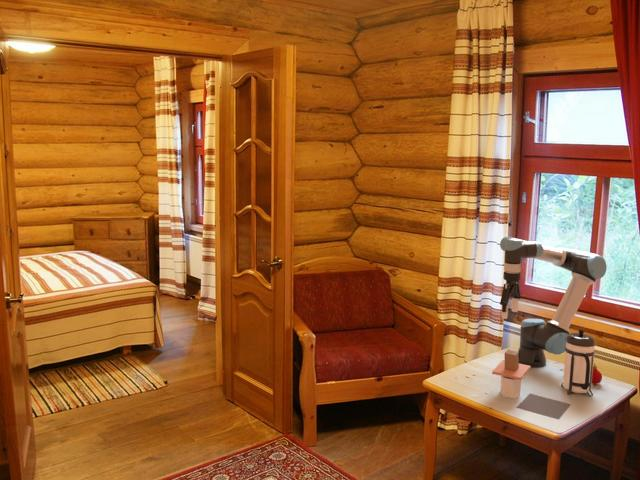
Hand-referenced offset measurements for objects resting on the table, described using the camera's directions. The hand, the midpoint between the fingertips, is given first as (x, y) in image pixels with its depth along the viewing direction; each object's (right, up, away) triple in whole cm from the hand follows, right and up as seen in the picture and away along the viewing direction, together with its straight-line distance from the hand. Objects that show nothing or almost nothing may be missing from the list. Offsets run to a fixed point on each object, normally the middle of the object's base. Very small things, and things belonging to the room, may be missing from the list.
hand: (509, 315), depth 284 cm
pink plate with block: (-3, -24, -14) cm, 28 cm away
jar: (-3, -35, -12) cm, 37 cm away
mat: (+7, -37, -24) cm, 45 cm away
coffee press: (+29, -35, -9) cm, 46 cm away
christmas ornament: (+41, -33, +1) cm, 52 cm away
